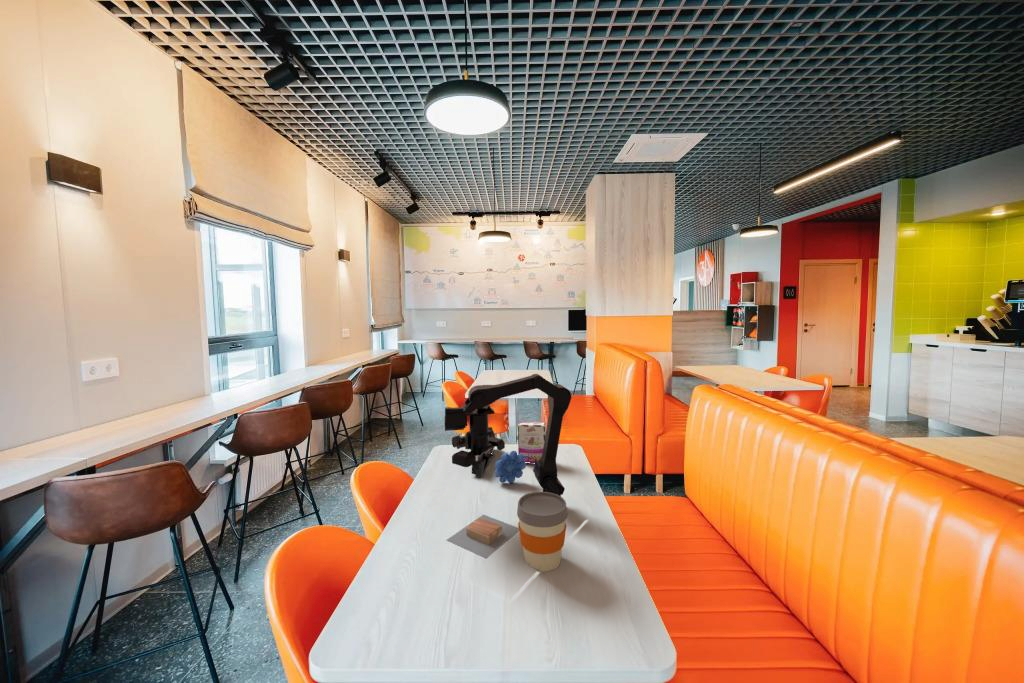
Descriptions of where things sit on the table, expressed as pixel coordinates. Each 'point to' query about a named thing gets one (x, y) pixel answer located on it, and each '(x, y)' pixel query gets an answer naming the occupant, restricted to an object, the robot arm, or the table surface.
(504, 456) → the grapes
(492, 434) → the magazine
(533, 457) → the candy bar box
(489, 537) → the maple tile
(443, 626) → the table surface
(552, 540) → the reusable coffee cup
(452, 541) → the slate mat
